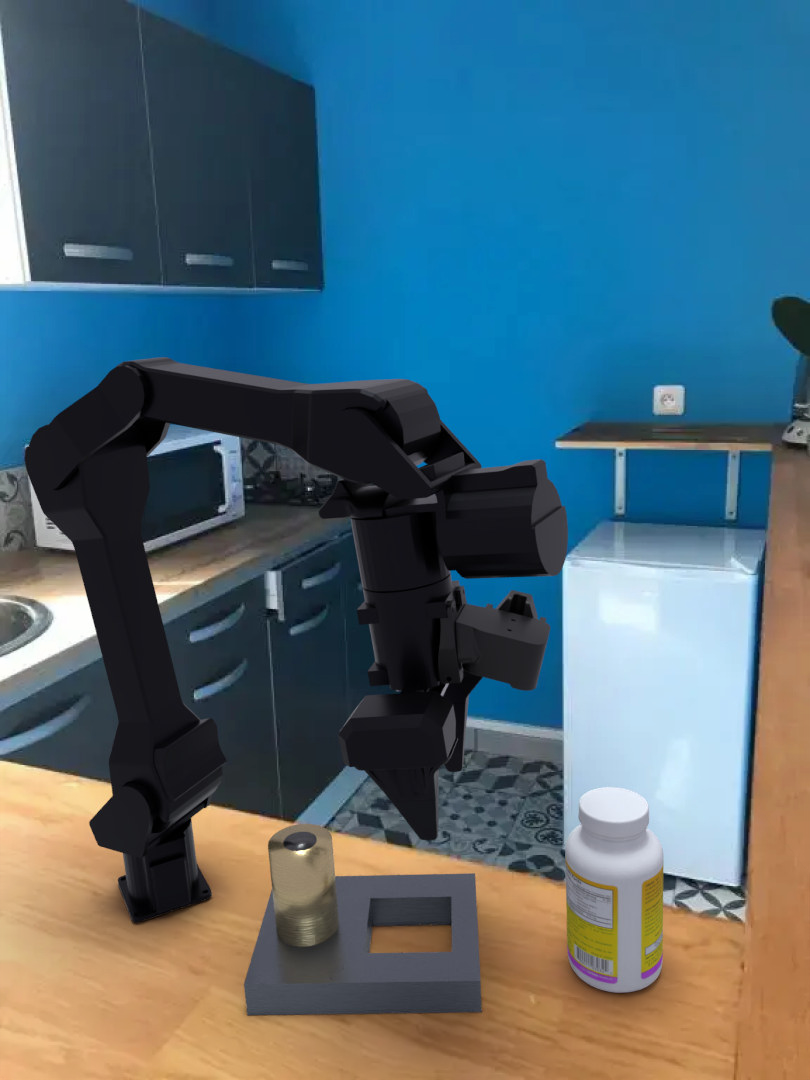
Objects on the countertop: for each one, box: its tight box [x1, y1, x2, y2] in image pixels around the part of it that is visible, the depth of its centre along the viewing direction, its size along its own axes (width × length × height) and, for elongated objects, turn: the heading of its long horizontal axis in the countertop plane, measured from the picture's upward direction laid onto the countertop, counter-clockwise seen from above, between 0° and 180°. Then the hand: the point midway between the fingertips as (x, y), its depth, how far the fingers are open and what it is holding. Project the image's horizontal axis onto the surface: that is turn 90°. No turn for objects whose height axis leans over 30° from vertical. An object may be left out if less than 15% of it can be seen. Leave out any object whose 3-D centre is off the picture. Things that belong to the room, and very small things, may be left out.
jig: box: [243, 872, 483, 1016], centre depth 69 cm, size 16×12×2 cm
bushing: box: [267, 823, 339, 947], centre depth 68 cm, size 5×5×7 cm
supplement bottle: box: [564, 786, 664, 994], centre depth 65 cm, size 7×7×13 cm
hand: (443, 802), depth 63 cm, fingers open, 9 cm apart
